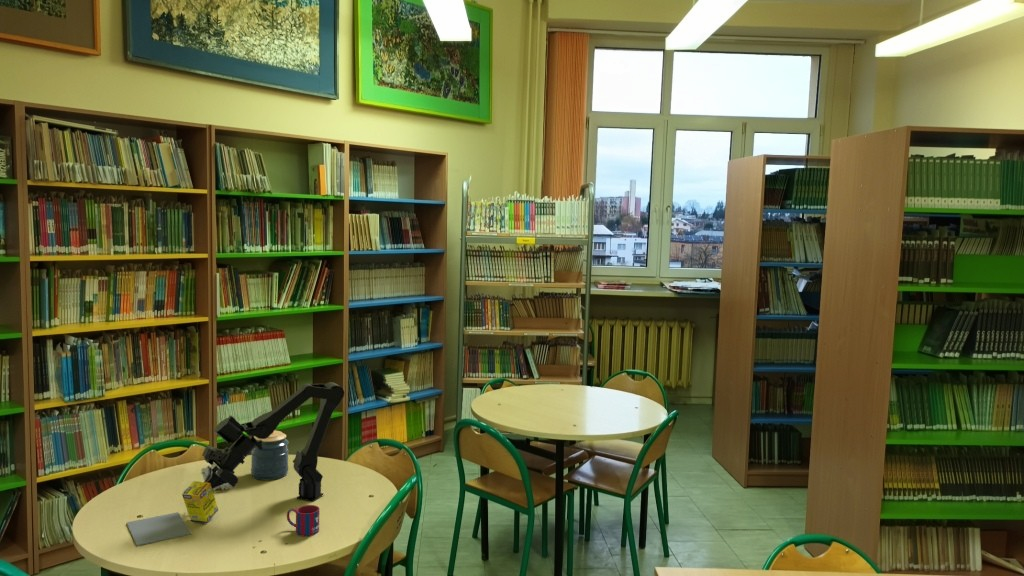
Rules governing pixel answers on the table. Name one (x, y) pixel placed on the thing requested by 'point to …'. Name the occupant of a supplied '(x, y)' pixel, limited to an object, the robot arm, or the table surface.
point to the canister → (270, 457)
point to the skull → (226, 485)
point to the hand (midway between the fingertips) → (200, 492)
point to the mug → (306, 520)
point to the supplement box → (200, 502)
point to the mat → (158, 528)
